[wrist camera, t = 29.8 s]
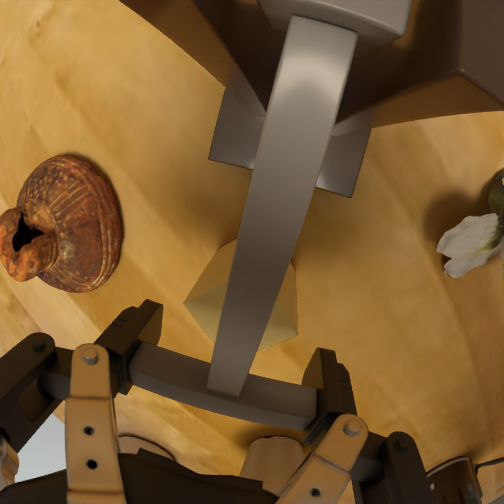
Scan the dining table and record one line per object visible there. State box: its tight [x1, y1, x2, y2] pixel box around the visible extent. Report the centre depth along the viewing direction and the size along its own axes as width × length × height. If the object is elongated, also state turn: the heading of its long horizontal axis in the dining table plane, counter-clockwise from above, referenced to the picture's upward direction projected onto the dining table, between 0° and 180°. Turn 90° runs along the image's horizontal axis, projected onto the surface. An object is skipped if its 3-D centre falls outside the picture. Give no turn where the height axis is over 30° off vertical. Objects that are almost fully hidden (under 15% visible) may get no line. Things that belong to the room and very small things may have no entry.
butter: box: [184, 239, 298, 351], centre depth 17 cm, size 4×4×8 cm
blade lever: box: [128, 0, 412, 431], centre depth 6 cm, size 14×7×2 cm, turn 166°
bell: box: [0, 156, 121, 293], centre depth 18 cm, size 12×12×7 cm
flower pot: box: [239, 436, 304, 494], centre depth 24 cm, size 9×9×9 cm
